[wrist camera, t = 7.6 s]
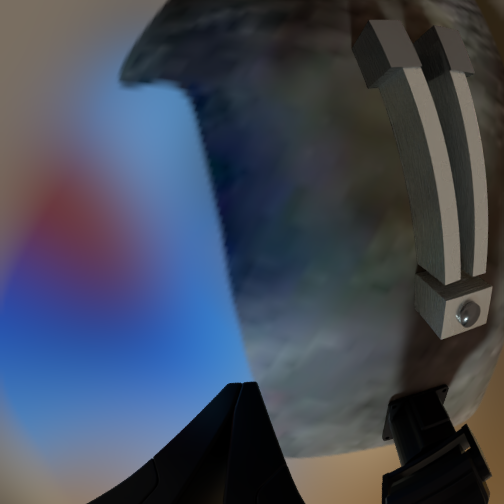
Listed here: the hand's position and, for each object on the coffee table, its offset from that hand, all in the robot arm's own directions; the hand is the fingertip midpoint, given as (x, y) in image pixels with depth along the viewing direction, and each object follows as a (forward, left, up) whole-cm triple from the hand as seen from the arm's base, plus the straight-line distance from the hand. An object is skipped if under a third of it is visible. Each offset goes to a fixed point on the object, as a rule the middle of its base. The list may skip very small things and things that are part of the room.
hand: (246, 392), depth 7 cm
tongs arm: (+6, -10, -11) cm, 16 cm away
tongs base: (+4, -12, -11) cm, 17 cm away
